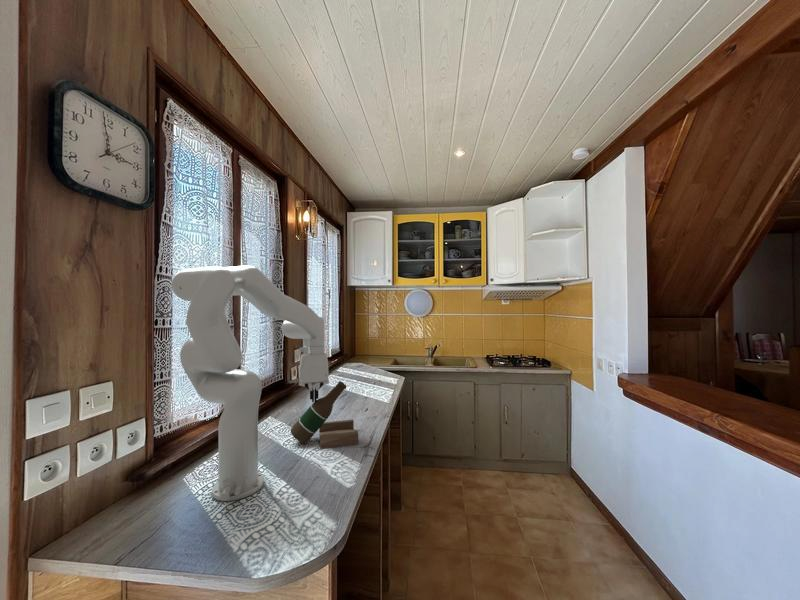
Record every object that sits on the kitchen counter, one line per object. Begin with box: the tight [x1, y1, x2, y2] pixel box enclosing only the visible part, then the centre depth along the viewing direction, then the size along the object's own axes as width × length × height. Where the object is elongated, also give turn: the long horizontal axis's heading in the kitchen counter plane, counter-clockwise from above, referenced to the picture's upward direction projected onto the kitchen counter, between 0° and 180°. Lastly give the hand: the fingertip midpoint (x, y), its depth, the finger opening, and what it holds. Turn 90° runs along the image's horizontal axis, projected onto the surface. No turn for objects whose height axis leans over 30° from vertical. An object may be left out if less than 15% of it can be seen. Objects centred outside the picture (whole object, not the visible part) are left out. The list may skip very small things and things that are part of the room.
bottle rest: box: [318, 419, 359, 450], centre depth 118 cm, size 14×13×4 cm
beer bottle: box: [290, 381, 347, 444], centre depth 117 cm, size 8×8×24 cm
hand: (314, 400), depth 116 cm, fingers closed
